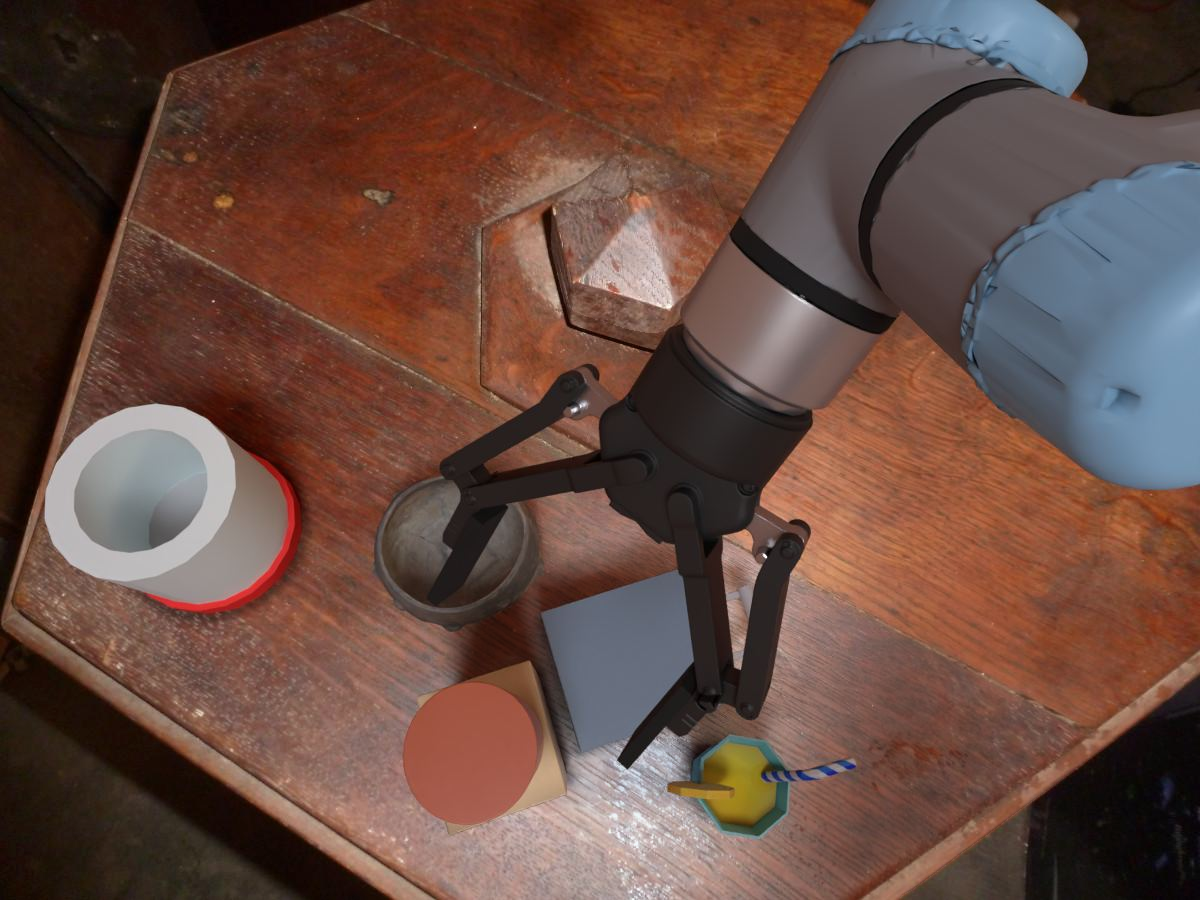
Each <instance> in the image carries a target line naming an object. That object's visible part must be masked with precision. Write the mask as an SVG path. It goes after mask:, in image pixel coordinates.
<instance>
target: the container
mask: <svg viewBox="0 0 1200 900" xmlns="http://www.w3.org/2000/svg"><path fill="white" fill-rule="evenodd" d="M43 518H44V522H45V525H46V527H47V531H48V534H49V537H50V539H51V542H52V545H53V546H54V548H56V549H57V551H58V552H59V553H60V554H61V556H62V557H63V558H64V559H65V560H66V561H67V563H68V564H69V565H71V566H72V567H75V568H76V569H78V570H80V571H82V572H83V573H86V574H88V575H90V576H92V577H93V578H96V579H98V580H99V579H100V580H102V581H106V582H109V583H111V584H112V583H113V584H116V585H119V586H122V587H126V588H129V589H132V590H136V591H139V592H142V593H145V595H147V596H148V597H149V598H151V599H153V600H156V601H158V602H159V603H162V604H163V605H165V606H167V607H169V608H172V609H175V610H178V611H182V612H189V613H197V614H205V615H210V614H217V613H220V612H226V611H232V610H237V609H238V608H240V607H242V606H244V605H246V604H248V603H250V602H252V601H254V600H256V599H259V598H260V597H262V595H264V594H265V593H266V592H267V591H268V590H269V589H270V588H271V587H273V586H274V585H275V584H276V583H277V582H279V580H281V578H282V577H283V575H284V574H285V572H286V571H287V569H288V567H289V566H290V564H291V563H292V561H293V559H294V558H295V556H296V553H297V551H298V546H299V542H300V538H301V535H302V531H303V524H302V511H301V504H300V501H299V499H298V497H297V495H296V492H295V490H294V488H293V486H292V484H291V482H290V481H289V480H288V479H287V478H286V477H285V476H284V475H283V474H282V473H281V472H280V471H279V470H278V469H277V468H276V466H274V465H273V464H271V462H269V461H268V460H266V459H265V458H262V457H260V456H258V455H256V454H254V453H252V452H250V451H248V450H245V449H243V447H241V446H240V445H239V444H238V443H237V442H236V441H235V440H233V439H232V438H230V437H229V436H228V435H227V434H226V433H225V432H224V431H222V430H221V429H220V428H219V427H218V426H216V425H215V424H214V423H213V422H211V420H210V419H208V418H206V417H204V416H202V415H200V414H198V413H196V412H194V411H192V410H190V409H188V408H186V407H183V406H175V405H169V404H160V403H152V404H144V405H139V406H130V407H125V408H124V409H121V410H120V411H119V410H118V411H116V412H115V413H112V414H110V415H107V416H105V417H103V418H100V419H98V420H96V422H94V423H93V424H91V426H89V427H88V428H87V429H85V430H84V431H82V433H80V434H79V435H78V436H76V437H75V438H74V439H73V440H72V442H71V443H70V445H68V446H67V448H66V449H65V451H64V452H63V454H62V455H61V456H60V458H59V459H58V460H57V462H55V465H54V468H53V470H52V473H51V476H50V478H49V481H48V483H47V486H46V489H45V497H44V517H43Z"/></svg>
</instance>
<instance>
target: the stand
mask: <svg viewBox="0 0 1200 900" xmlns="http://www.w3.org/2000/svg"><path fill="white" fill-rule="evenodd" d="M463 682H485V683H489V684H493V685H496V686H498V687H500V688H503V689H505V690H507V691H509V692H511V693H513V694H515V695H517V696H518V697H520V698H521V699H523V700H524V701H525V702H526V703H527V704H528V705H529V706H530V707H531V708H532V709H533V711H534V712H535V714H536V716H537V718H538V720H539V722H540V725H541V728H542V733H543V753H542V758H541V761H540V764H539V767H538V769H537V771H536V773H535V775H534V776H533V778H532V780H531V782H530V784H529V785H528V787H527V789H526V791H525V792H524V794H523V795H522V796H521V798H520V799H519V800H518V801H517V802H516V803H515V804H514V805H513V806H512V807H511V808H510V809H509V810H507V811H506V812H505V813H503V814H502V815H500V816H498V817H497V818H494V819H492V820H490V821H487V822H483V823H480V824H473V825H460V824H453V823H450V822H447V821H444V822H445V825H446V829H447V834H448V836H453V835H456V834H458V833H462V832H464V831H467V830H471V829H474V828H476V827H479V826H481V825H485V824H487V823H490V822H492V821H496V820H499V819H501V818H505V817H507V816H510V815H513V814H515V813H519V812H521V811H524V810H527V809H529V808H530V809H531V808H533V807H535V806H538V805H541V804H544V803H547V802H550V801H553V800H556V799H559V798H561V797H565V796H566V795H567V794H568V783H567V782H568V780H567V777H568V776H567V770H566V767H565V764H564V763H565V762H564V760H563V756H562V753H561V749H560V745H559V742H558V739H557V735H556V731H555V727H554V724H553V722H552V717H551V714H550V710H549V707H548V702H547V700H546V697H545V692H544V689H543V686H542V683H541V679H540V676H539V674H538V672H537V671H536V668H535V667H534V665H533V664H532V662H531V660H526V661H523V662H519V663H516V664H513V665H510V666H506V667H504V668H499V669H498V670H494V671H492V672H488V673H485V674H482V675H479V676H476V677H472V678H470V679H467V680H466V679H465V680H463V681H461V682H457V683H455V684H459V683H463ZM455 684H451V685H448V686H445V687H442V688H439V689H436V690H433V691H429V692H426V693H423V694H420V695H418V696H416V701H417V705H418V710H419V709H420V708H421V707H422V706H423V704H425V703H426V702H427V701H428V700H429V699H430V698H431V697H432V696H434V695H435V694H436V693H438V692H439V691H441V690H443V689H445V688H447V687H449V686H452V685H455Z"/></svg>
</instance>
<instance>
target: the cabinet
mask: <svg viewBox="0 0 1200 900" xmlns="http://www.w3.org/2000/svg"><path fill="white" fill-rule="evenodd" d="M540 617H541V621H542V625H543V629H544V633H545V636H546V639H547V643H548V646H549V650H550V654H551V657H552V660H553V664H554V667H555V671H556V674H557V679H558V682H559V685H560V688H561V692H562V696H563V699H564V701H565V702H564V703H565V705H566V709H567V713H568V715H569V720H570V722H571V726H572V730H573V733H574V736H575V739H576V743H577V746H578V749H579V751H580V753H581V754H583V753H586V752H590V751H591V750H592V751H593V750H594V749H597V748H601V747H603V746H606V745H610V744H612V743H615V742H618V741H620V740H623V739H627V738H629V737H630V738H631V736H632V734H633V733H634V731H635V730H636V728H637V727H638V726H639V725H640V724H641V723H642V721H643V720H644V719H645V718H646V717H647V715H648V714H649V713H650V712H651V711H652V710H653V708H654V707H655V706H656V705H657V704H658V703H659V701H660V700H661V699H662V698H663V697H664V695H665V694H666V693H667V692H668V691H669V690H670V688H671V687H672V686H673V685H674V684H675V682H676V681H677V680H678V679H679V678H680V677H681V675H682V674H683V673H684V672H685V671H686V669H687V668H688V667H689V666H690V665H691V664H692V662H693V661H694V658H693V651H692V643H691V635H690V628H689V620H688V613H687V605H686V597H685V590H684V582H683V577H682V576H680V575H679V573H678V568H676V569H674V570H670V571H667V572H664V573H661V574H658V575H655V576H652V577H648V578H645V579H642V580H638V581H635V582H632V583H629V584H625V585H622V586H619V587H617V588H613V589H610V590H607V591H604V592H600V593H598V594H594V595H591V596H588V597H587V596H586V597H584V598H581V599H578V600H575V601H571V602H568V603H566V604H562V605H559V606H556V607H552V608H550V609H546V610H543V611H540ZM722 705H724V704H719V705H718V707H719V706H722Z"/></svg>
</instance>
